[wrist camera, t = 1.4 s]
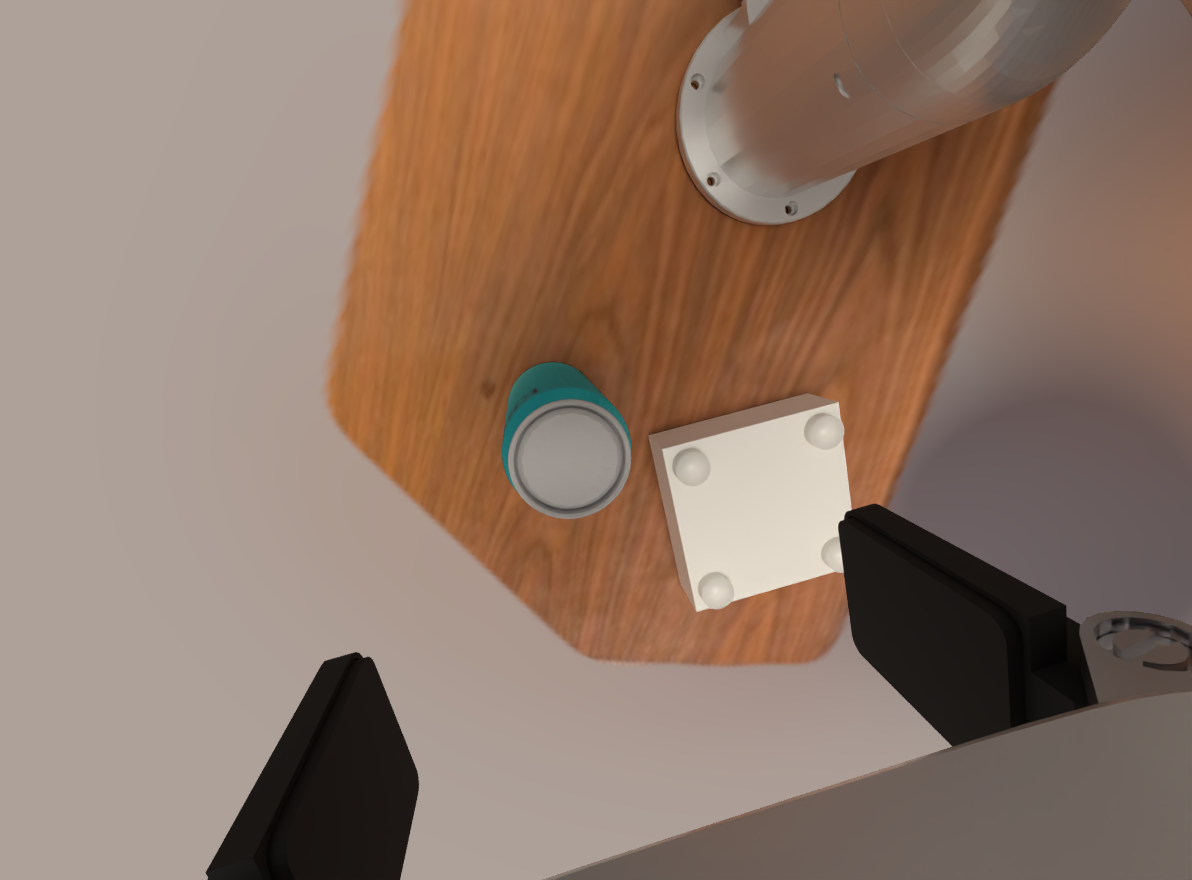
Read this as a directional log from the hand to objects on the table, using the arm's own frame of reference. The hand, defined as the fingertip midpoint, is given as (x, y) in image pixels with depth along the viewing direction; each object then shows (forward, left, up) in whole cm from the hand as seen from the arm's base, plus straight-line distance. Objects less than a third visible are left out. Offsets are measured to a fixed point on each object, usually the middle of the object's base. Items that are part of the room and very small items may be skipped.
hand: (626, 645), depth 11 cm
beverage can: (0, 0, -28) cm, 28 cm away
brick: (+10, +12, -28) cm, 32 cm away
